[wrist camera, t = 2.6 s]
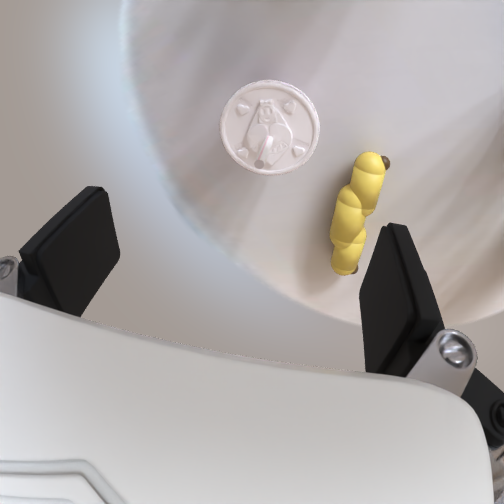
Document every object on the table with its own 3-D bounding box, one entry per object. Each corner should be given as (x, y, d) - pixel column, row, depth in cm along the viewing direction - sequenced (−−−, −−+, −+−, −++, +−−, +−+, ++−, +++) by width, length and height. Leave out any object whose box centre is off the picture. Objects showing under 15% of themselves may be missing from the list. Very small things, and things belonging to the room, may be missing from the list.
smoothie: (249, 136, 29) (207, 210, 18) (241, 71, 25) (186, 99, 14) (318, 134, 27) (323, 209, 17) (314, 67, 24) (320, 89, 13)
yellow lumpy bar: (346, 142, 27) (349, 153, 25) (388, 151, 27) (395, 163, 25) (320, 259, 36) (320, 278, 34) (355, 265, 36) (357, 283, 33)
